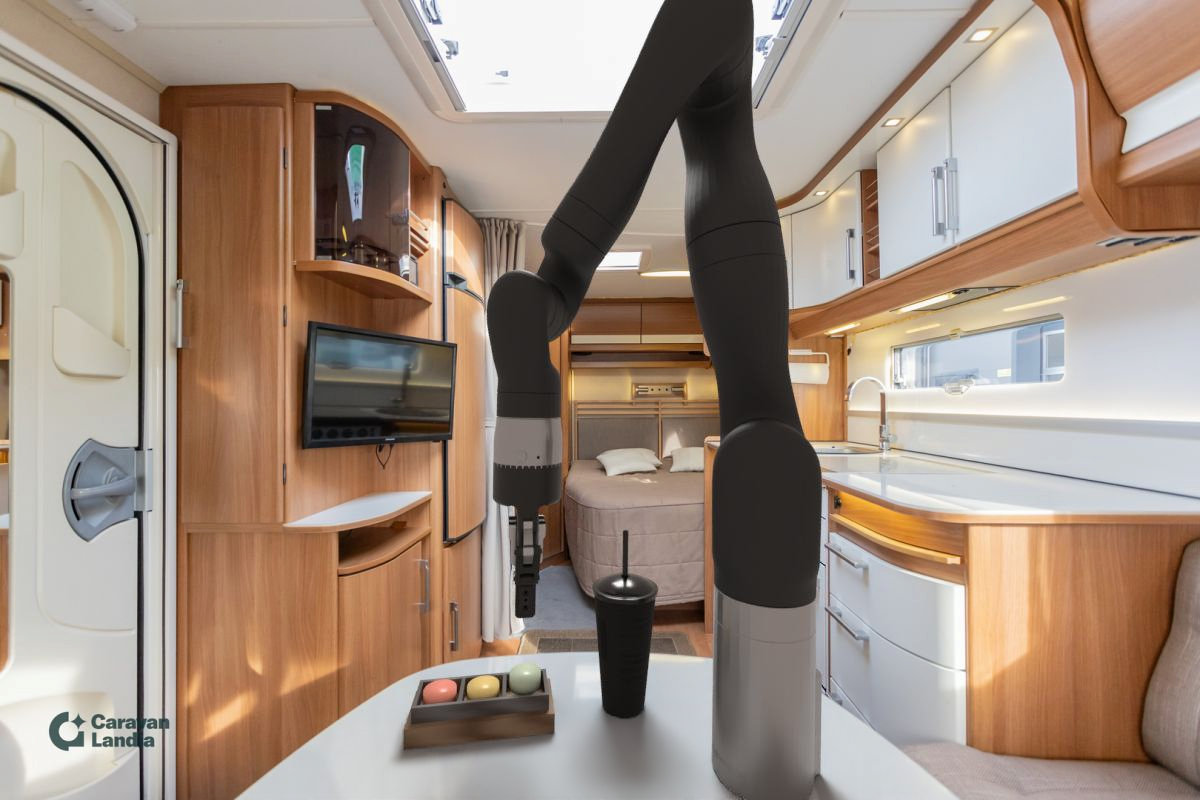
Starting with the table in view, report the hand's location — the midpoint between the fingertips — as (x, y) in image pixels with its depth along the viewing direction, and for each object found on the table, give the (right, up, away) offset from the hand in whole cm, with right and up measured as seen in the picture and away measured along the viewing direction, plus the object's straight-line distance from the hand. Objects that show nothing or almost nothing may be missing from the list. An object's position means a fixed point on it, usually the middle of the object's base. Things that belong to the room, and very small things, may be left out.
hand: (524, 614), depth 52 cm
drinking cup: (+11, -12, +2) cm, 16 cm away
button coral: (-9, -9, -2) cm, 13 cm away
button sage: (0, -8, 0) cm, 8 cm away
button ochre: (-4, -9, -1) cm, 10 cm away
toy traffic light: (-4, -11, -1) cm, 12 cm away
